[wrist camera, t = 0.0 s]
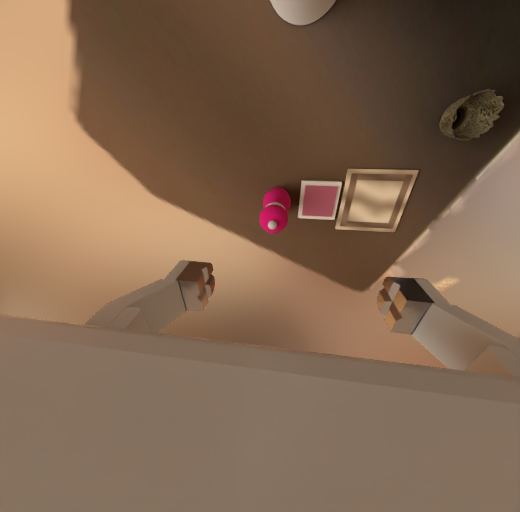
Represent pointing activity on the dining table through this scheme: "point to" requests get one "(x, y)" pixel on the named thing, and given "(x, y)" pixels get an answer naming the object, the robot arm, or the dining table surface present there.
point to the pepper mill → (275, 210)
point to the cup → (471, 115)
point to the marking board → (374, 199)
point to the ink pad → (319, 199)
